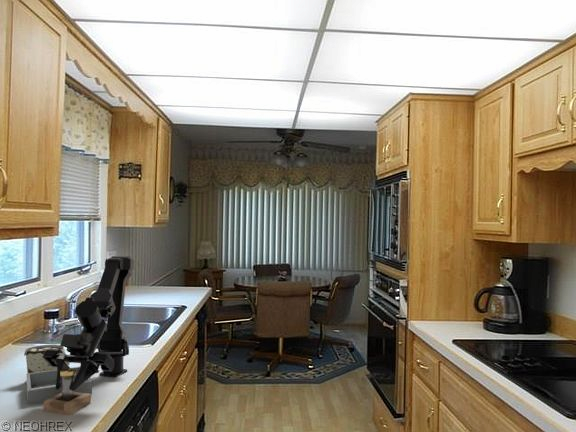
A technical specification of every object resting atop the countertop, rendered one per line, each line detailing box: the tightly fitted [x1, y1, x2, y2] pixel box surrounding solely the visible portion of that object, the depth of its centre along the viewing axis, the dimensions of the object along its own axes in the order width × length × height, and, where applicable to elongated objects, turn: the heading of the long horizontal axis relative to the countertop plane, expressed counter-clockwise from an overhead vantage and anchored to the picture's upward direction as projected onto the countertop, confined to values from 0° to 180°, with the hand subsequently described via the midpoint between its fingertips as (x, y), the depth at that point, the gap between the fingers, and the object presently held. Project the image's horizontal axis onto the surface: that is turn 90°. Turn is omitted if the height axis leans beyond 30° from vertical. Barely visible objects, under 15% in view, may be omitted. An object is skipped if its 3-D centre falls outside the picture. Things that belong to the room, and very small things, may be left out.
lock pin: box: [60, 367, 76, 402], centre depth 124 cm, size 4×4×10 cm
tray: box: [25, 366, 93, 405], centre depth 137 cm, size 16×16×5 cm
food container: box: [23, 344, 66, 374], centre depth 151 cm, size 12×6×10 cm, turn 92°
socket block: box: [42, 392, 92, 416], centre depth 124 cm, size 8×8×4 cm
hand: (64, 389), depth 123 cm, fingers open, 4 cm apart
